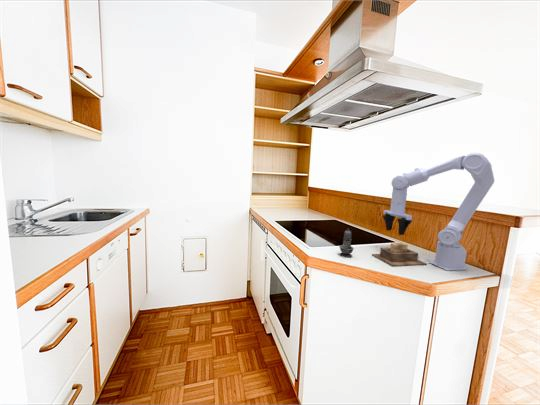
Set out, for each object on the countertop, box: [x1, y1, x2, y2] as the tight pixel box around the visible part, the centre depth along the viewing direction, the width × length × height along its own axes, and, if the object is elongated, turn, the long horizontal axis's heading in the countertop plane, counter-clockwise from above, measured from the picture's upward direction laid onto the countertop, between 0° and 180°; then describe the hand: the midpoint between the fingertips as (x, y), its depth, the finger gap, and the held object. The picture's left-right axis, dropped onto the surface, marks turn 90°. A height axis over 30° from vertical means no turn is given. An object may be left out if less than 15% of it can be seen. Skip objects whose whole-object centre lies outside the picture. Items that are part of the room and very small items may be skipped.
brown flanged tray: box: [371, 247, 427, 268], centre depth 93 cm, size 16×12×4 cm
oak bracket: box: [389, 242, 409, 253], centre depth 93 cm, size 6×2×6 cm, turn 102°
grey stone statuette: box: [338, 228, 355, 259], centre depth 95 cm, size 6×6×12 cm
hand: (394, 232), depth 102 cm, fingers open, 7 cm apart
